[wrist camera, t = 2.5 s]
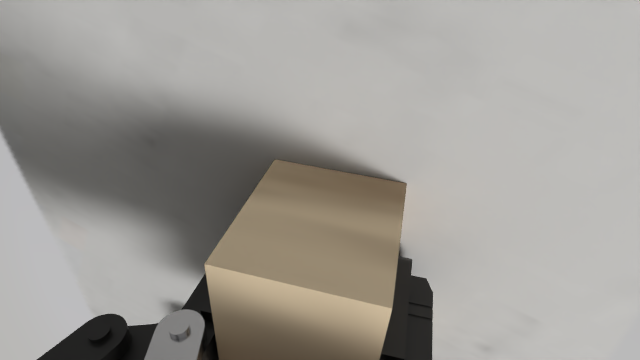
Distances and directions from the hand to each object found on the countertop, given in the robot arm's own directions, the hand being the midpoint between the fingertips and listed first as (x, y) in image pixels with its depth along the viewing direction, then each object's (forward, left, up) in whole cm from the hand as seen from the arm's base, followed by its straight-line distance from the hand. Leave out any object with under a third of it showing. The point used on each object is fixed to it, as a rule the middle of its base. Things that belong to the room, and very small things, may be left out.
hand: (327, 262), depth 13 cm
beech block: (0, 0, 0) cm, 0 cm away
